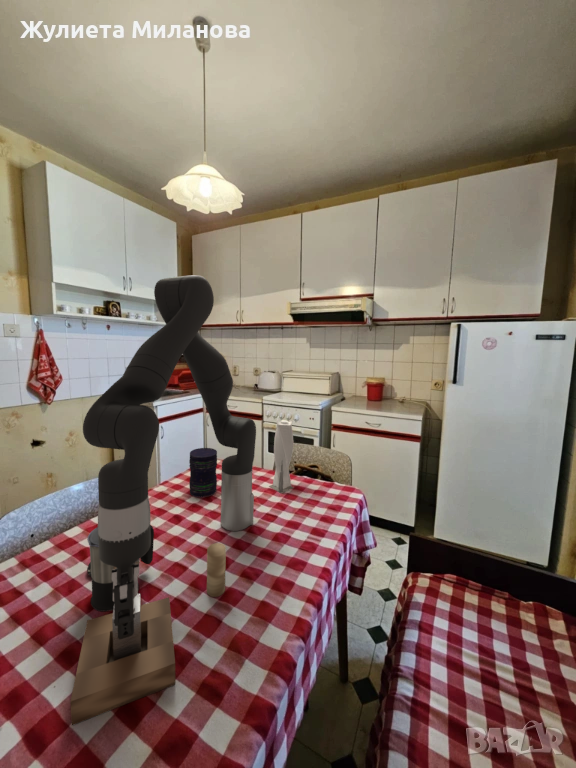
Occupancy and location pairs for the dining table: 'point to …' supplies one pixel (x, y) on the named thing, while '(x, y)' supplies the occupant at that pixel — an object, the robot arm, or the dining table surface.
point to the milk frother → (106, 573)
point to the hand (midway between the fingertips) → (127, 613)
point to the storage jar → (203, 472)
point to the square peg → (130, 643)
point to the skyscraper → (282, 455)
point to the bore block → (123, 664)
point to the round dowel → (216, 569)
